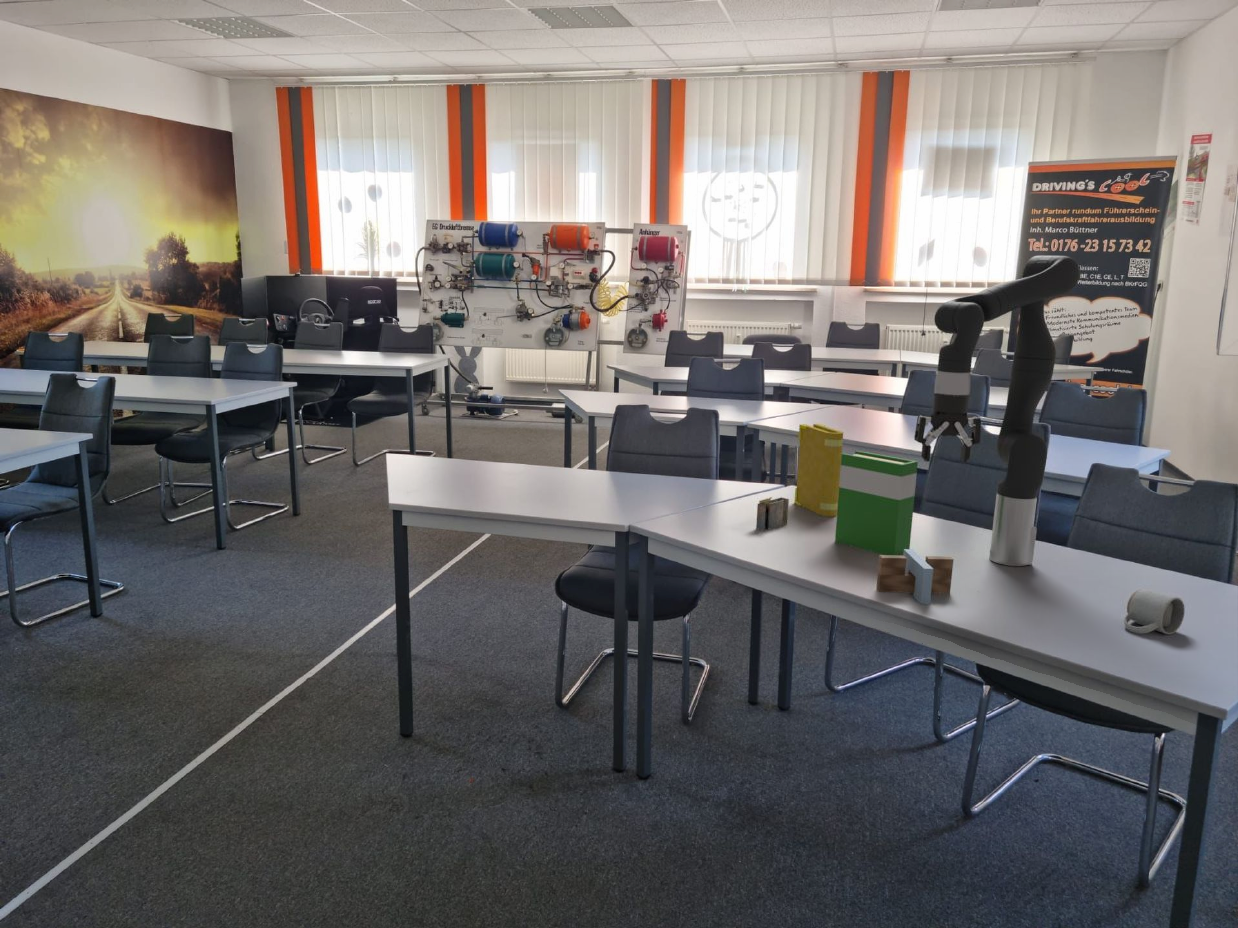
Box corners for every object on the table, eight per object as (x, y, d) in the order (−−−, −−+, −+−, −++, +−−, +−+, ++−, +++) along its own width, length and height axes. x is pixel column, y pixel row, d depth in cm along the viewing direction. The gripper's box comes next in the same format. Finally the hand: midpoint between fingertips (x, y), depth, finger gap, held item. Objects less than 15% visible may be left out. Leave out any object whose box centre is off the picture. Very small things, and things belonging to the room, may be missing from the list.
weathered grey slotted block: (765, 532, 245) (767, 498, 243) (756, 530, 247) (758, 496, 245) (788, 525, 253) (790, 492, 251) (779, 523, 255) (781, 490, 253)
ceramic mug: (1143, 617, 186) (1148, 583, 185) (1182, 631, 179) (1188, 595, 178) (1111, 626, 182) (1116, 591, 180) (1151, 640, 175) (1156, 604, 173)
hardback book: (834, 541, 236) (841, 453, 231) (850, 536, 241) (857, 450, 236) (894, 557, 224) (902, 465, 219) (909, 551, 229) (917, 461, 224)
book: (794, 503, 277) (799, 424, 271) (813, 501, 279) (818, 423, 273) (822, 517, 261) (828, 433, 256) (842, 515, 263) (848, 433, 258)
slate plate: (900, 582, 205) (903, 549, 203) (909, 582, 205) (912, 549, 203) (920, 603, 191) (924, 568, 190) (929, 603, 191) (933, 568, 190)
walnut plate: (946, 590, 200) (950, 556, 199) (949, 593, 198) (953, 559, 197) (876, 588, 200) (879, 554, 199) (878, 591, 198) (881, 557, 197)
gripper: (976, 390, 204) (969, 458, 207) (915, 388, 204) (908, 457, 207) (989, 394, 196) (982, 465, 200) (926, 392, 196) (919, 464, 200)
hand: (944, 461), depth 203 cm, fingers open, 8 cm apart
